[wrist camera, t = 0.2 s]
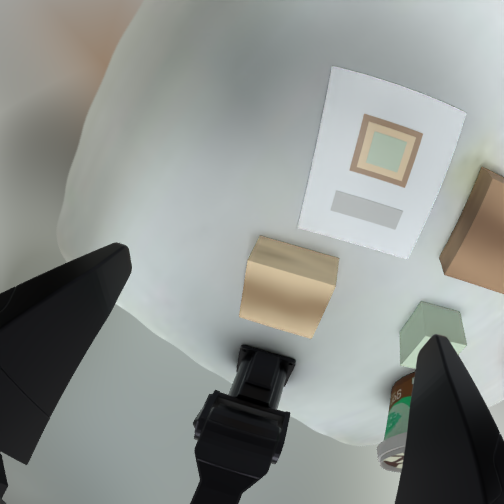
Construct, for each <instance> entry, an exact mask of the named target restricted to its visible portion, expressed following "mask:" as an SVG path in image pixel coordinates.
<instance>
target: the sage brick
mask: <svg viewBox="0 0 504 504" xmlns="http://www.w3.org/2000/svg"><path fill="white" fill-rule="evenodd" d="M434 334H438V335H443V336H446V337H447V338H448V339H449V341H450V343H451V344H452V346H453V347H454V349H455V351H456V352H457V354H459V353H460V352H461V351H462V350H463V349H464V348H465V347H466V346H467V343H466V338H465V333H464V328H463V323H462V319H461V315H460V312H458V311H455V310H451V309H447V308H444V307H440V306H437V305H433V304H429V303H426V302H422V301H421V302H420V304H419V305H418V307H417V308H416V310H415V311H414V313H413V314H412V316H411V317H410V319H409V320H408V321H407V323H406V324H405V326H404V327H403V328H402V330H401V331H400V366H404V367H409V368H414V369H416V362H417V356H418V353H419V351H420V350H421V349H422V347H423V346H424V345H425V344H426V342H427V341H428V340H429V339H430V338H431V336H432V335H434Z"/></svg>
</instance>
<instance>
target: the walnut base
mask: <svg viewBox="0 0 504 504" xmlns="http://www.w3.org/2000/svg"><path fill="white" fill-rule="evenodd" d="M439 259H440V262H441V265H442V269H443V272H444V275H447V276H450V277H453V278H456V279H459V280H462V281H466V282H469V283H472V284H475V285H478V286H481V287H484V288H487V289H490V290H493V291H496V292H499V293H502V294H504V177H502V176H500V175H498V174H496V173H494V172H492V171H490V170H488V169H486V168H484V167H481V170H480V172H479V175H478V177H477V180H476V182H475V184H474V187H473V189H472V191H471V194H470V196H469V198H468V201H467V203H466V205H465V207H464V209H463V211H462V214H461V216H460V218H459V220H458V222H457V224H456V226H455V228H454V230H453V232H452V234H451V236H450V238H449V240H448V242H447V244H446V246H445V247H444V249H443V251H442V253H441V255H440V257H439Z"/></svg>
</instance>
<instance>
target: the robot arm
mask: <svg viewBox="0 0 504 504" xmlns="http://www.w3.org/2000/svg"><path fill="white" fill-rule="evenodd" d="M131 271H132V264H131V258H130V253H129V248H128V247H127V246H126V245H123V244H120V243H112V244H110V245H108V246H105V247H103V248H100V249H98V250H95V251H93V252H91V253H88V254H86V255H84V256H81V257H79V258H77V259H74V260H72V261H70V262H68V263H65V264H63V265H61V266H58V267H56V268H54V269H52V270H50V271H47V272H45V273H43V274H41V275H39V276H36V277H34V278H32V279H30V280H28V281H26V282H24V283H21V284H19V285H17V286H16V287H13V288H11V289H9V290H7V291H5V292H3V293H1V294H0V452H3V453H5V454H7V455H8V456H10V457H12V458H14V459H16V460H17V461H19V462H22V463H23V464H25V465H27V464H28V462H29V460H30V458H31V456H32V454H33V452H34V450H35V447H36V445H37V443H38V441H39V439H40V437H41V435H42V433H43V431H44V429H45V427H46V425H47V423H48V421H49V419H50V416H51V415H52V413H53V411H54V409H55V407H56V405H57V403H58V401H59V399H60V398H61V396H62V394H63V392H64V390H65V389H66V387H67V385H68V383H69V381H70V379H71V378H72V376H73V374H74V373H75V371H76V369H77V367H78V366H79V364H80V362H81V360H82V359H83V357H84V355H85V354H86V352H87V350H88V349H89V347H90V345H91V344H92V342H93V340H94V339H95V337H96V335H97V334H98V332H99V330H100V329H101V327H102V326H103V324H104V323H105V321H106V319H107V318H108V316H109V314H110V313H111V311H112V309H113V307H114V305H115V303H116V301H117V299H118V297H119V295H120V293H121V291H122V289H123V287H124V286H125V284H126V282H127V280H128V278H129V276H130V274H131ZM295 363H296V361H295V360H293V359H290V358H286V357H283V356H279V355H276V354H272V353H269V352H266V351H262V350H259V349H256V348H252V347H249V346H246V345H242V346H241V348H240V352H239V358H238V365H237V371H236V372H237V374H236V377H235V379H234V382H233V384H232V387H231V389H230V392H229V394H228V395H227V394H224V393H220V391H217V390H215V391H214V393H213V394H209V396H208V398H207V400H206V402H205V404H204V407H203V408H202V410H201V411H200V412H199V414H198V415H197V417H196V418H195V420H194V422H193V425H194V427H195V436H194V439H195V440H198V442H197V444H196V447H195V457H196V462H197V467H198V471H199V476H200V482H199V484H198V487H197V489H196V491H195V494H194V496H193V498H192V501H191V503H190V504H238V503H239V500H240V498H241V495H242V493H243V492H244V491H246V490H247V489H248V488H250V487H251V486H252V485H253V484H255V483H256V482H257V481H258V480H260V479H261V478H262V477H263V476H264V475H266V474H267V472H268V470H269V467H270V464H271V463H272V464H276V462H277V460H278V458H279V456H280V454H281V451H282V448H283V444H284V441H285V437H286V432H287V427H288V422H289V418H290V412H287V411H286V412H284V411H280V410H277V408H278V404H279V401H280V397H281V394H282V390H283V387H284V386H285V385H286V383H287V381H288V379H289V377H290V375H291V373H292V371H293V368H294V366H295ZM7 487H8V483H7V479H6V475H5V470H4V465H3V460H2V455H1V454H0V504H6V503H5V502H4V501H3V500H2V497H3V494H4V493H5V491H6V489H7ZM395 504H504V440H503V438H502V436H501V434H500V432H499V430H498V427H497V425H496V423H495V421H494V419H493V417H492V415H491V413H490V411H489V409H488V407H487V405H486V403H485V402H484V400H483V398H482V396H481V394H480V392H479V390H478V389H477V387H476V385H475V383H474V381H473V380H472V378H471V376H470V374H469V373H468V371H467V369H466V367H465V366H464V364H463V362H462V361H461V359H460V357H459V356H458V354H457V352H456V351H455V349H454V347H453V346H452V344H451V343H450V341H449V339H448V338H447V337H446V336H443V335H438V334H434V335H432V336H431V338H430V339H429V340H428V341H427V342H426V344H425V345H424V346H423V347H422V349H421V350H420V351H419V353H418V356H417V362H416V370H415V377H414V383H413V389H412V395H411V401H410V409H409V419H408V429H407V437H406V445H405V452H404V458H403V465H402V470H401V476H400V481H399V486H398V492H397V496H396V501H395Z"/></svg>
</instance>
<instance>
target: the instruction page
mask: <svg viewBox="0 0 504 504" xmlns="http://www.w3.org/2000/svg"><path fill="white" fill-rule="evenodd" d="M466 114H467V113H466V112H464V111H462V110H460V109H458V108H455V107H453V106H451V105H449V104H447V103H444V102H442V101H440V100H437V99H435V98H432V97H430V96H427V95H425V94H422V93H420V92H417V91H414V90H412V89H409V88H406V87H403V86H400V85H398V84H395V83H392V82H389V81H386V80H382V79H379V78H376V77H373V76H369V75H366V74H362V73H359V72H355V71H351V70H347V69H343V68H339V67H335V66H332V68H331V73H330V79H329V84H328V89H327V94H326V99H325V104H324V109H323V114H322V119H321V124H320V129H319V134H318V138H317V143H316V148H315V152H314V157H313V161H312V166H311V171H310V175H309V179H308V184H307V188H306V193H305V197H304V201H303V205H302V210H301V214H300V218H299V222H298V226H297V228H299V229H303V230H307V231H310V232H314V233H318V234H321V235H325V236H328V237H332V238H335V239H339V240H342V241H346V242H349V243H353V244H356V245H360V246H363V247H367V248H370V249H373V250H377V251H380V252H383V253H387V254H390V255H393V256H397V257H400V258H403V259H406V260H408V258H409V256H410V254H411V252H412V250H413V248H414V246H415V244H416V242H417V240H418V238H419V236H420V234H421V232H422V229H423V227H424V225H425V223H426V221H427V219H428V216H429V214H430V212H431V210H432V207H433V205H434V203H435V200H436V198H437V196H438V193H439V191H440V188H441V186H442V183H443V181H444V178H445V176H446V173H447V170H448V168H449V165H450V162H451V160H452V157H453V154H454V151H455V148H456V146H457V143H458V140H459V137H460V133H461V130H462V127H463V124H464V121H465V117H466Z"/></svg>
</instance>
